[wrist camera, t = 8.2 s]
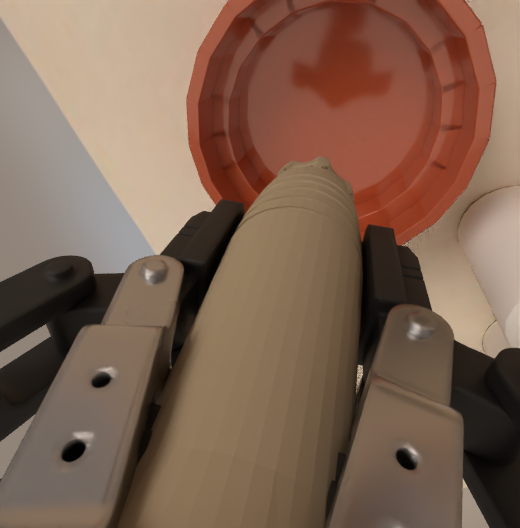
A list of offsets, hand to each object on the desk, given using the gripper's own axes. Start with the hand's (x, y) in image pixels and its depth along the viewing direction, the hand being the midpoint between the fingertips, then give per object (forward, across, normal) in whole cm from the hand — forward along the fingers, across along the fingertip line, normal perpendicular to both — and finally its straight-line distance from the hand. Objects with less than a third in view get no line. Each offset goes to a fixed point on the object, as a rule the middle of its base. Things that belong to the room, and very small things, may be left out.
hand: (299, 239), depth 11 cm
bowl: (+18, 0, 0) cm, 18 cm away
